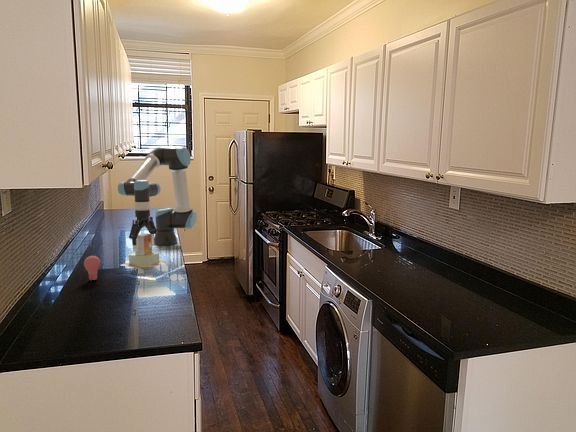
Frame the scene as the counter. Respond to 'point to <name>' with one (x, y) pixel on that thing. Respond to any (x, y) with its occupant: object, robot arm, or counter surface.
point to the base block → (144, 259)
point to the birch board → (144, 266)
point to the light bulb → (92, 266)
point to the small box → (144, 244)
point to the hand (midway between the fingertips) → (143, 248)
